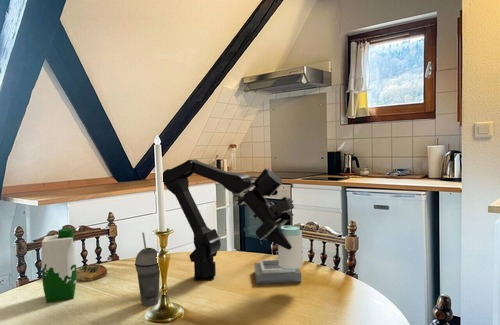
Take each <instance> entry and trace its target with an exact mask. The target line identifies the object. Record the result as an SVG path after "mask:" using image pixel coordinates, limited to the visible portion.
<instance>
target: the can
mask: <svg viewBox="0 0 500 325" xmlns="http://www.w3.org/2000/svg"><path fill="white" fill-rule="evenodd" d="M281 232H282V233H283V235H284V236H285V238H286V239H287V241H288V242H289V244H290V245H291V247H292V248H291V249H290V250H288V249H286V248H284V247H282V246H280V245H277V246H278V252H277V253H278V255H277V256H278V257H277V259H279V266H280V267H281V268H283V269H286V270H296V269H299V270H300V268H301V267H303V232H302V230H301V229H300V226H298V225H293V224H292V225H287V226H282V227H281Z"/></svg>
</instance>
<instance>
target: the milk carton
mask: <svg viewBox="0 0 500 325" xmlns="http://www.w3.org/2000/svg"><path fill="white" fill-rule="evenodd" d="M57 233H58V234H54V235H47V236H44V238H43V239H42V241H41V249H40V250H41V252H40V256H41V258H40V260H41V276H42V277H41V278H42V280H41V281H42V287H43V288H42V289H43V293H44V298H45V303H46V304H51V303H55V302H61V301H66V300H67V301H68V300H72V299H73V300H74V297H75V293H76V291H75V290H76V285H77V280H76V277H77V270H78V269H77V253H76V252H77V251H76V244H75V235H74V228H70V227H68V228H60V229H58V230H57Z"/></svg>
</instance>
